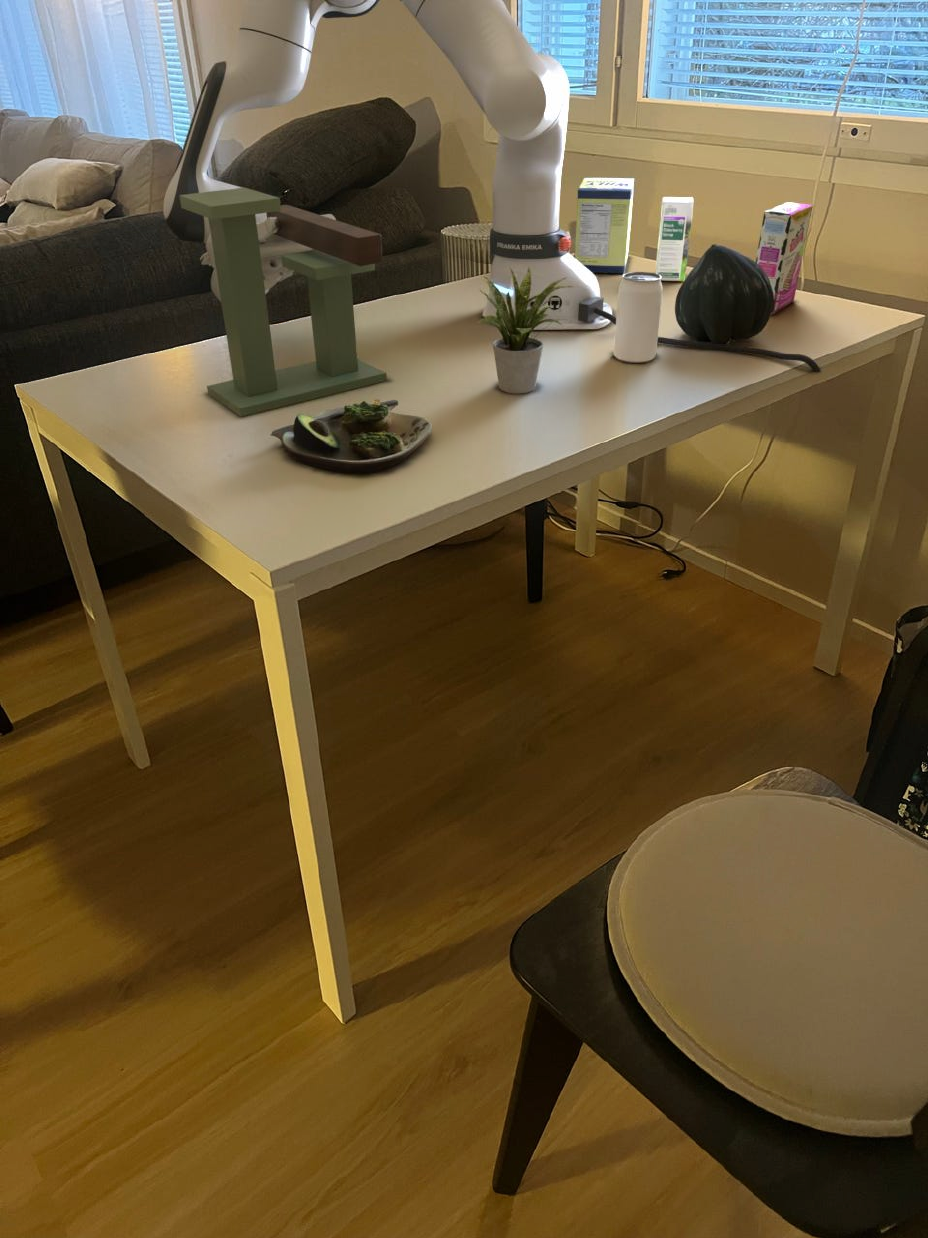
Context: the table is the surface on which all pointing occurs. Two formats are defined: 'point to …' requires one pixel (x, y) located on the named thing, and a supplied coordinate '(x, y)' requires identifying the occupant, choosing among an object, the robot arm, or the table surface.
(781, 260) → the candy bar box
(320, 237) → the walnut stick
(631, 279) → the can
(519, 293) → the house plant
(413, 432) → the salad plate
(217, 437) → the table surface
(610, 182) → the protein box
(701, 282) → the squash
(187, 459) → the table surface
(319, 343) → the plant stand
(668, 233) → the syrup box
